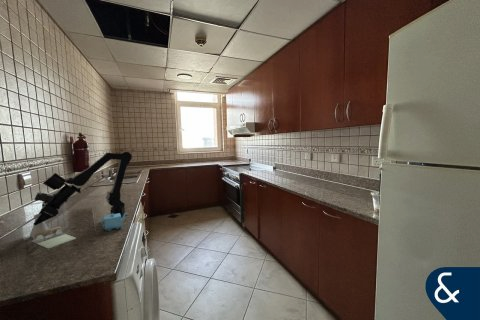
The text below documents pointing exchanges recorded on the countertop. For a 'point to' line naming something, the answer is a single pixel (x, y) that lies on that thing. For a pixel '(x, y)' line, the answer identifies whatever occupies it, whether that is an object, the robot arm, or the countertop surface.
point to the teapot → (113, 221)
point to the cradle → (41, 238)
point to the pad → (56, 241)
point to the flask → (38, 227)
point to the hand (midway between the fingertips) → (35, 222)
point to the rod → (47, 231)
